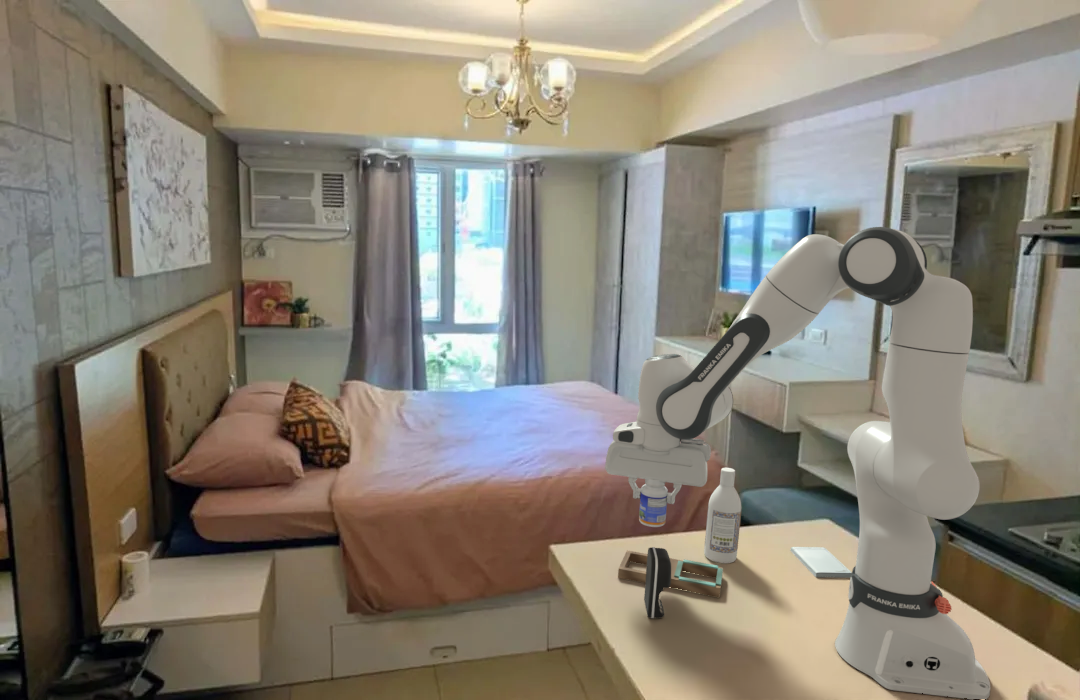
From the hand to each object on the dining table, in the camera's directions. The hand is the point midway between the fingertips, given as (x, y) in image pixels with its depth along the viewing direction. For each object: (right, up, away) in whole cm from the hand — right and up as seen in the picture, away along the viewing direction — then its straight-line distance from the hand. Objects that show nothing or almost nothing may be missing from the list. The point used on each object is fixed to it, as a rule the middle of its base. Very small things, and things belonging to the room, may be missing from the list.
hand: (653, 500), depth 138 cm
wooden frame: (+4, -16, +1) cm, 16 cm away
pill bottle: (0, -5, +1) cm, 5 cm away
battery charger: (-2, -18, -12) cm, 22 cm away
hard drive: (+38, -17, +11) cm, 43 cm away
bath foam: (+17, -15, +12) cm, 25 cm away
